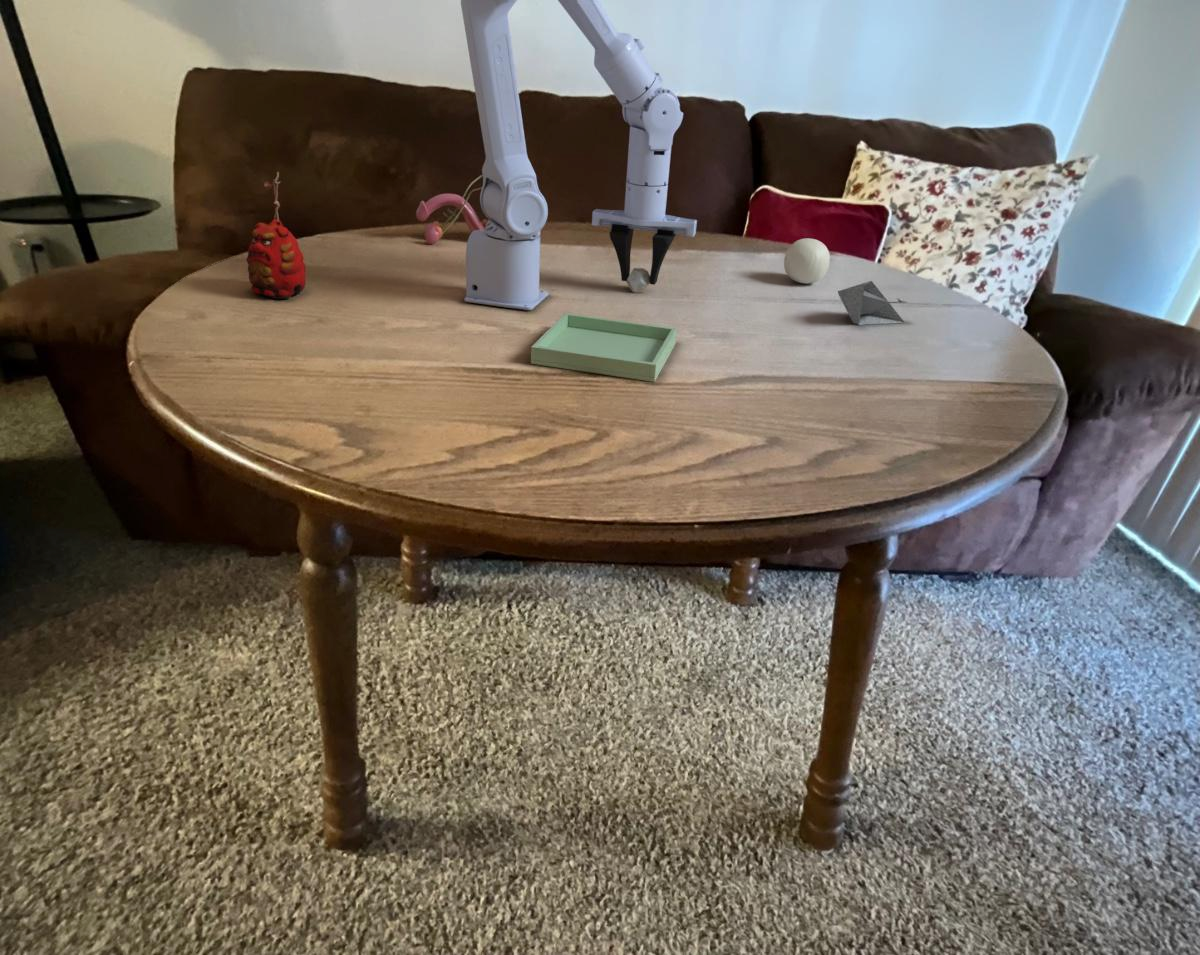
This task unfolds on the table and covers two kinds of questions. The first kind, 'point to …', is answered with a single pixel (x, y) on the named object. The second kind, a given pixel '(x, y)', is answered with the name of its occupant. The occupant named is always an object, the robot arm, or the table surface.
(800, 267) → the cream white ball
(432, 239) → the anatomy model
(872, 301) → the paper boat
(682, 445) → the table surface
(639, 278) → the game die
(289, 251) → the red clay folk toy
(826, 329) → the table surface
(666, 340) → the tray
